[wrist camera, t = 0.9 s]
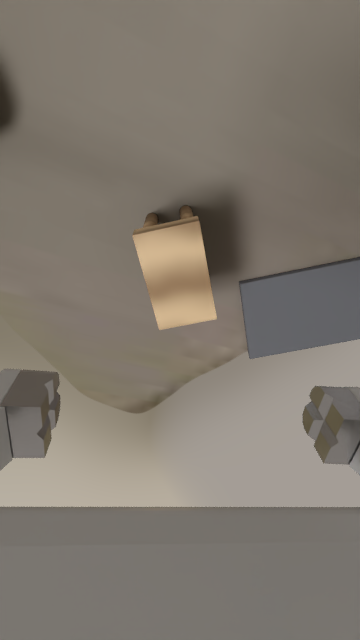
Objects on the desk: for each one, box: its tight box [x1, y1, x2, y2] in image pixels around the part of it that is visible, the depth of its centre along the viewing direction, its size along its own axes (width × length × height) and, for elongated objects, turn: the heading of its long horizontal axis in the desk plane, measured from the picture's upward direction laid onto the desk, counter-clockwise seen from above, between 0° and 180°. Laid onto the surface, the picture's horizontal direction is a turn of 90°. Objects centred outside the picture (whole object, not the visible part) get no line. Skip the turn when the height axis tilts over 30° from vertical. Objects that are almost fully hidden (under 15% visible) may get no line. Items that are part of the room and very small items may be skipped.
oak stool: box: [132, 205, 217, 330], centre depth 35 cm, size 10×6×10 cm, turn 12°
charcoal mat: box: [239, 257, 360, 359], centre depth 44 cm, size 18×12×1 cm, turn 102°
